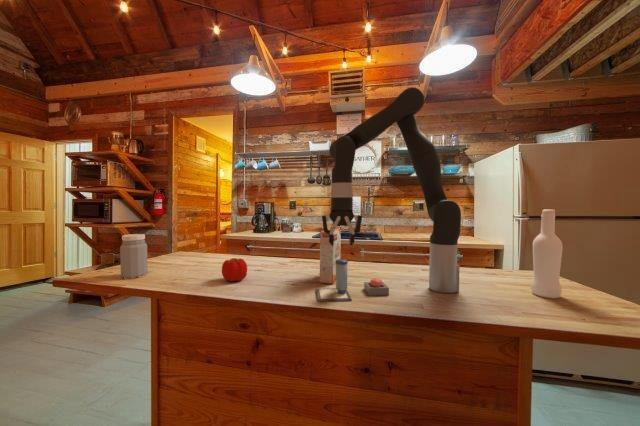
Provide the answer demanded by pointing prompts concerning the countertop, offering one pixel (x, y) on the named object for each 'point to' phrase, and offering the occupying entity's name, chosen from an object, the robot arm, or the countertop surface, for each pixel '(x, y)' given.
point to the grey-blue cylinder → (341, 276)
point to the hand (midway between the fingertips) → (341, 244)
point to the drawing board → (332, 295)
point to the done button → (376, 283)
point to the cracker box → (329, 256)
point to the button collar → (376, 289)
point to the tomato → (234, 269)
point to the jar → (133, 256)
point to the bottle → (547, 258)
